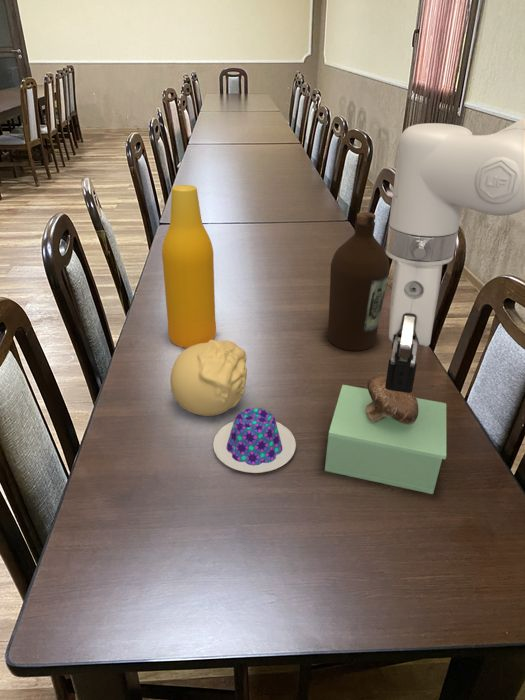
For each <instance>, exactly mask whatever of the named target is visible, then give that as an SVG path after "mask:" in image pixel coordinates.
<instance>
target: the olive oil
mask: <svg viewBox="0 0 525 700" xmlns="http://www.w3.org/2000/svg"><path fill="white" fill-rule="evenodd" d="M375 220H376V214H375V213H373V212H370V211H361V212H358V213H356V220H355V224H354V234H353V235H352V236H350V238H348V239H347V240H346V241H344V243H342V244H341V245H340V246H339V247H337V249H336V251H335V252H334V254H333V257H332V259H331V262H330V271H329V272H330V273H329V275H330V276H329V280H330V281H329V302H328V322H327V323H328V324H327V340H328V342H329V343H330V344H331V345H333V346H334V347H336V348H338V349H341V350H346V351H350V352H360V351H365V350H368V349H370V348H372V347H373V346H374V345H375V344H376V341H377V335H378V329H379V325H380V324H379V323H380V319H381V314H382V309H383V303H384V300H385V296H386V295H385V294H386V290H387V284H388V281H389V275H390V259H389V257H388V255H387V254H386V249H384V247H383V246H382V245H381V244H380V243H379V241H378V240H377V239H376V238H375V236H374V234H375V227H376V222H375Z"/></svg>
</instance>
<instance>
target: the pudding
mask: <svg viewBox="0 0 525 700" xmlns="http://www.w3.org/2000/svg"><path fill="white" fill-rule="evenodd" d="M212 446H213V450H214V453H215V455H216V457H217V458H218V460H219V461H221V462H222V463H223V464H224V465H225V466H227V467H229V468H231V469H233V470H236V471H240V472H243V473H253V474H256V473H257V474H258V473H266V472H271V471H273V470H277V469H279V468H280V467H281V468H282V466H284V465H285V464H287V463H288V462H289V461H290V460H291V459H292V458H293V456H294V455H295V453H296V450H297V449H296V448H297V443H296V439H295V436H294V434H293V433H292V432H291V430H290V429H288V427H286V426H285V425H283V424H282V423H281V422H278V421H276V418H275V416H274V414H272V412H269V411H266V409H264V408H261V407H260V408H259V407H258V408H254V407H249V408H246V409H244V410H241V411H240V412H238V413H237V414H236V416H235V418H234V420H233V421H230V422H229V423H226V424H225V425H224V426H222V427H220V429H219V430H218V431H217V432H216V434H215V436H214V438H213V443H212Z"/></svg>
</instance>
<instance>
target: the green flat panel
mask: <svg viewBox="0 0 525 700" xmlns="http://www.w3.org/2000/svg"><path fill="white" fill-rule="evenodd" d="M415 398H416V399H417V403H418V416H417V419H416V421H415V422H414V423H412V424H410V425H407V424H403V423H400V422H399V421H397V420H395V419H393V418H390V417H386V418H384V419H382V420H380V421H379V422H376V423H375V422H372V421H371V420H370V419H369V418H368V416H367V414H366V406H367V405H369V404H370V403H372V399H371V397H370V394H369V392H368V388H364V387H358V386H352V385H347V384H342V385H341V388H340V392H339V395H338V399H337V403H336V405H335V409H334V413H333V416H332V420H331V423H330V425H329V426H330V427H329V430H328V434H327V435H328V436H332V437H337V438H342V439H347V440H352V441H357V442H362V443H367V444H372V445H377V446H381V447H386V448H391V449H396V450H401V451H406V452H411V453H416V454H421V455H426V456H431V457H435V458H440V459H442V460H446V459H447V403H446V402H441V401H436V400H430V399H424V398H419V397H415ZM328 436H327V437H328Z"/></svg>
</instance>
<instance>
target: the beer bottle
mask: <svg viewBox="0 0 525 700" xmlns="http://www.w3.org/2000/svg"><path fill="white" fill-rule="evenodd" d="M170 195H171V198H170V220H169V226H168V229H167V231H166V234H165V236H164V239H163V242H162V246H161V248H162V249H161V259H162V268H163V269H162V270H163V280H164V292H165V294H164V295H165V305H166V316H167V334H168V338H169V340H170V341H171V342H172V343H173V344H174V345H175V346H177V347H179V348H180V347H181V348H185V349H187V348H189V347H191V346H193V345H196V344H200V343H207V342H209V341H210V340H215V338H216V333H217V322H216V296H215V267H214V248H213V243H212V241H211V238H210V236H209V234H208V232H207V230H206V228H205V226H204V223H203V221H202V213H201V208H200V200H199V195H198V189H197V187H196V186H195V185H192V184H191V185H190V184H179V185H178V184H177V185H174V186H172V187H171V194H170Z"/></svg>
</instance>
